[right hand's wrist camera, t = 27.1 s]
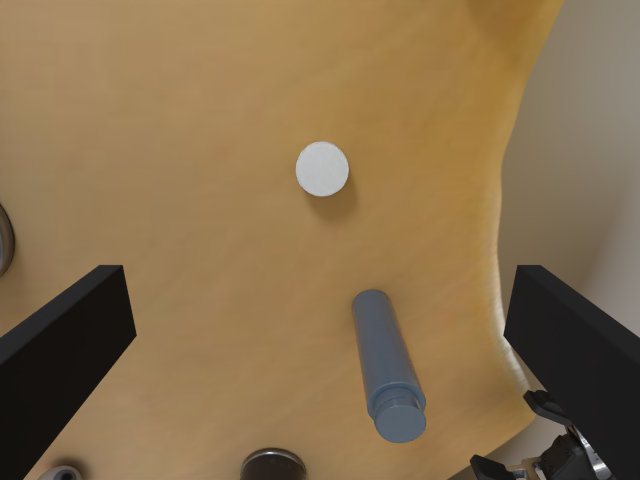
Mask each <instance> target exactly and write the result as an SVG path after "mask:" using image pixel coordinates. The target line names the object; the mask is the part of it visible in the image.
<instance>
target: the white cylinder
mask: <svg viewBox="0 0 640 480" xmlns="http://www.w3.org/2000/svg"><path fill="white" fill-rule="evenodd" d="M348 173H349V167H348V162H347V159H346V157H345V155H344V153H343V152H342V150H341V149H340V148H339V147H337V146H336V145H334V144H332V143H330V142H325V141H319V142H314V143H312V144H310V145H308V146H307V147H306V148H305V149H304V150H303V151H302V152H301V154H300V156H299V158H298V160H297V164H296V176H297V179H298V182H299V184H300V185H301V186H302V188H303V189H304V190H306V191H307V192H308V193H310V194H312V195H315V196H329V195H332V194H334V193H336V192H337V191H339V190H340V189H341V188H342V187H343V186H344V184H345V182H346V180H347V178H348Z"/></svg>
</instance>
